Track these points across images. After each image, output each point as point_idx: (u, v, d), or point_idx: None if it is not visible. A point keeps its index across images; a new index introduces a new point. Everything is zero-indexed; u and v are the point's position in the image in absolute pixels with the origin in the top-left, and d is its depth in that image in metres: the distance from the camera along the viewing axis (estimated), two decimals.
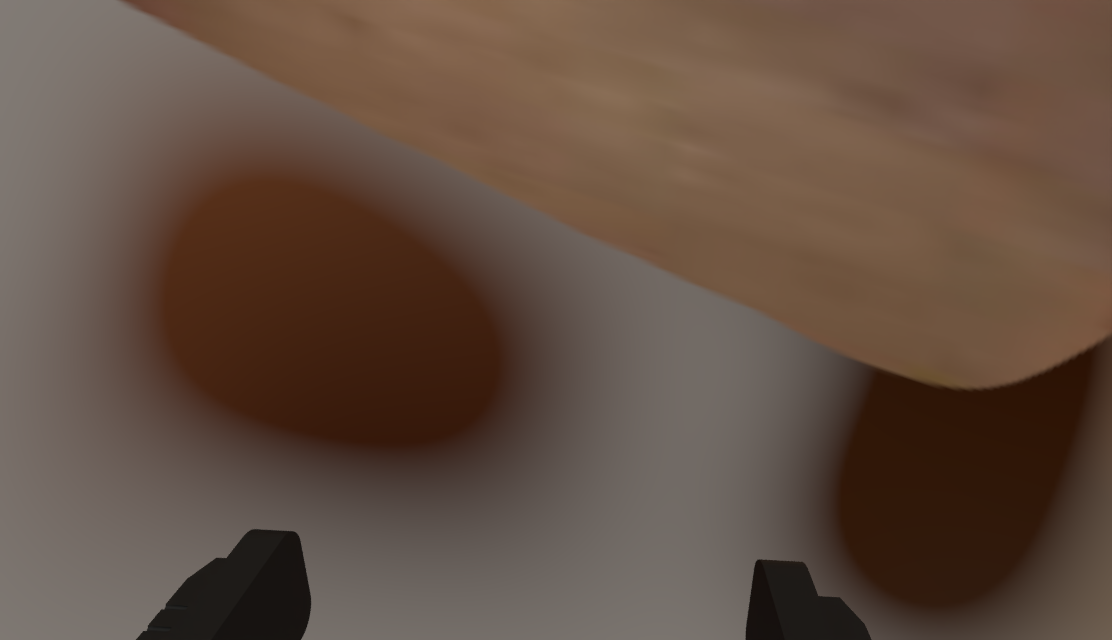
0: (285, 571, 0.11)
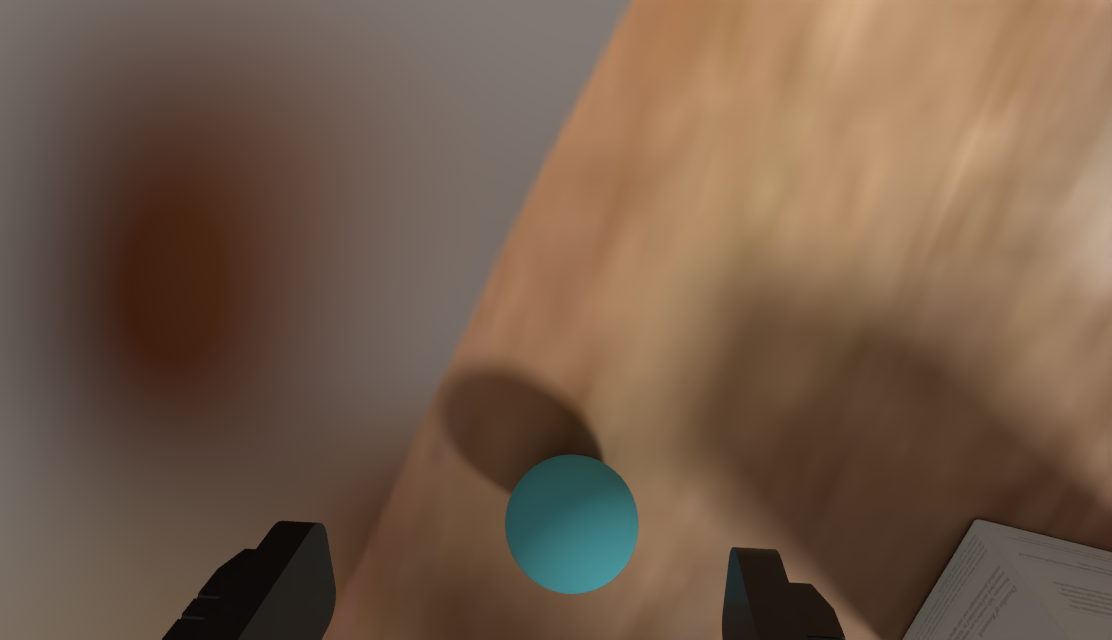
0: (313, 562, 0.11)
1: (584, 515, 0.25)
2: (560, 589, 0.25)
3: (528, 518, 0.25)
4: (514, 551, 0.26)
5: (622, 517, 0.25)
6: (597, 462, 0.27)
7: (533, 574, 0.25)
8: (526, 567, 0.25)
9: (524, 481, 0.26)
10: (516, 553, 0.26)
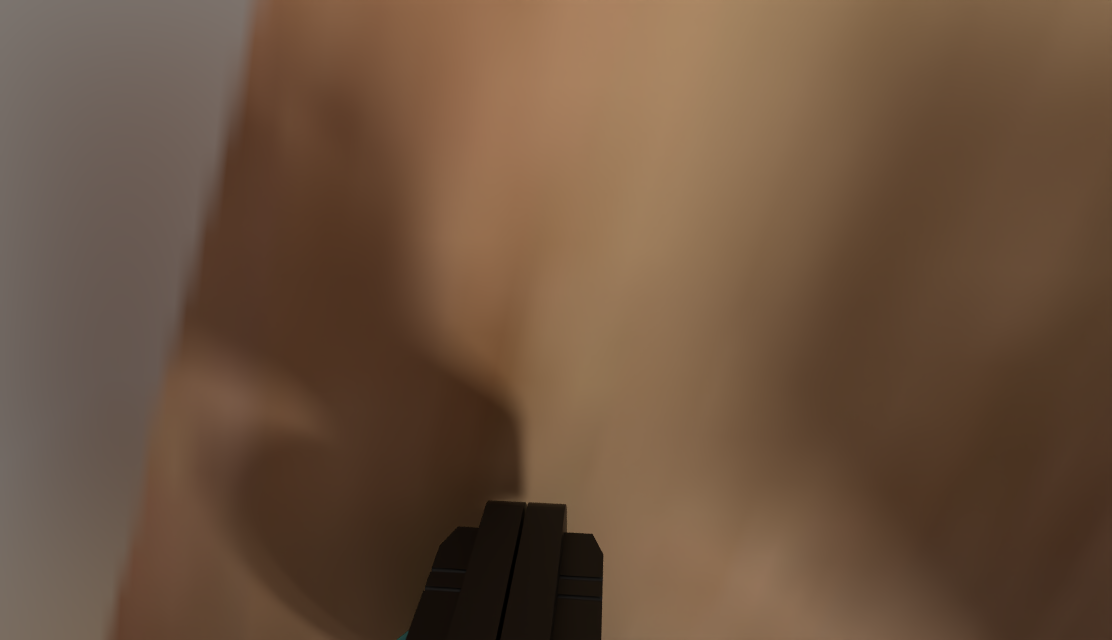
0: None
1: None
2: None
3: None
4: None
5: None
6: None
7: None
8: None
9: None
10: None
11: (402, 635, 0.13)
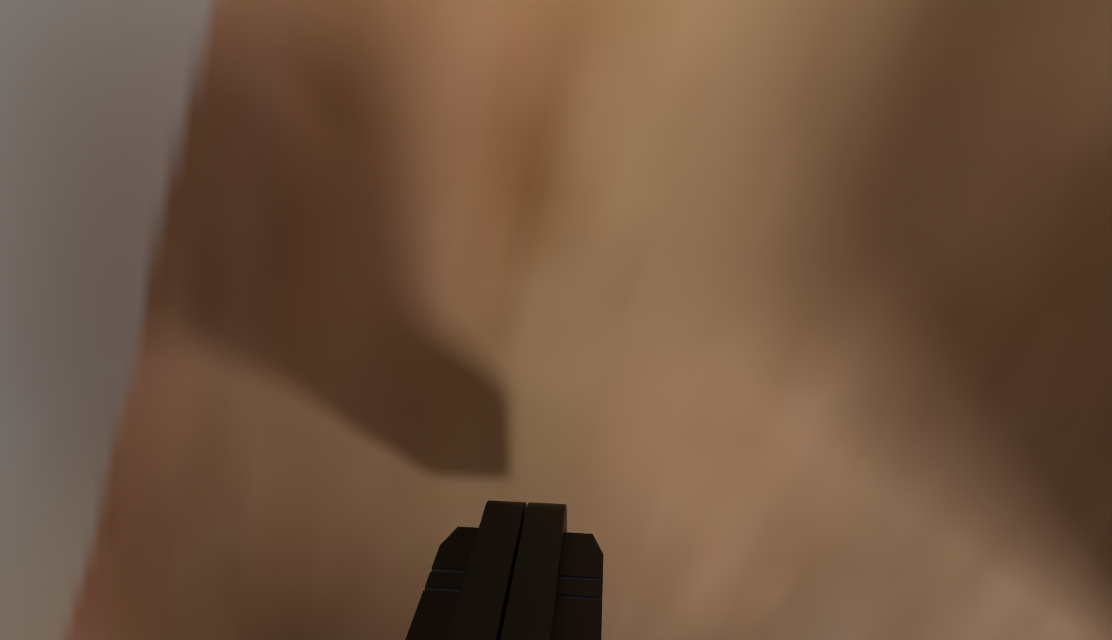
0: None
1: None
2: None
3: None
4: None
5: None
6: None
7: None
8: None
9: None
10: None
11: None
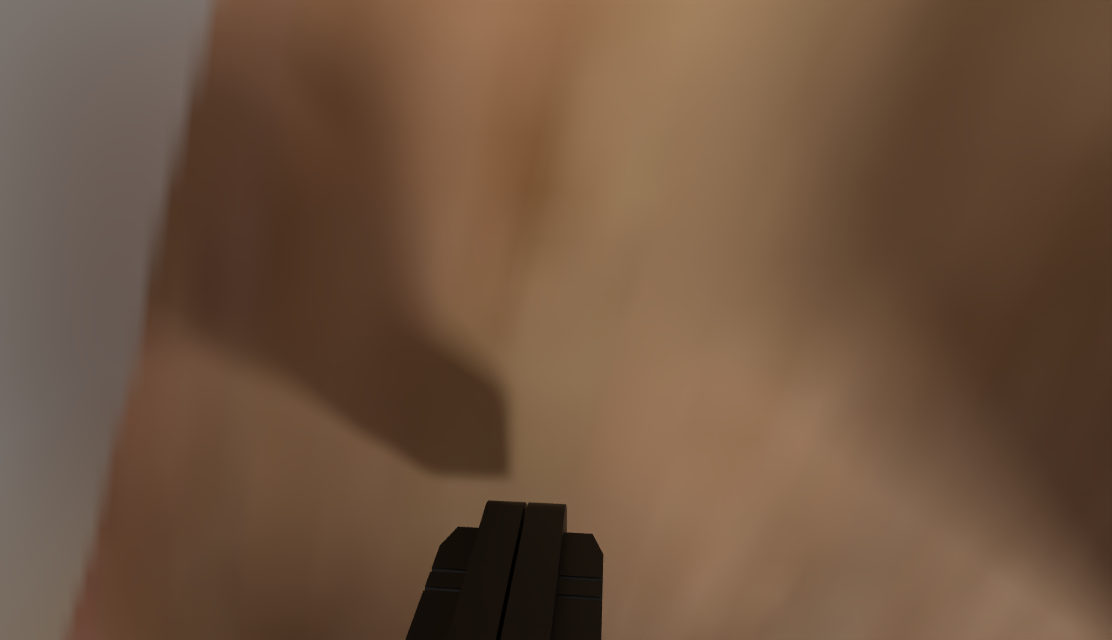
0: None
1: None
2: None
3: None
4: None
5: None
6: None
7: None
8: None
9: None
10: None
11: None
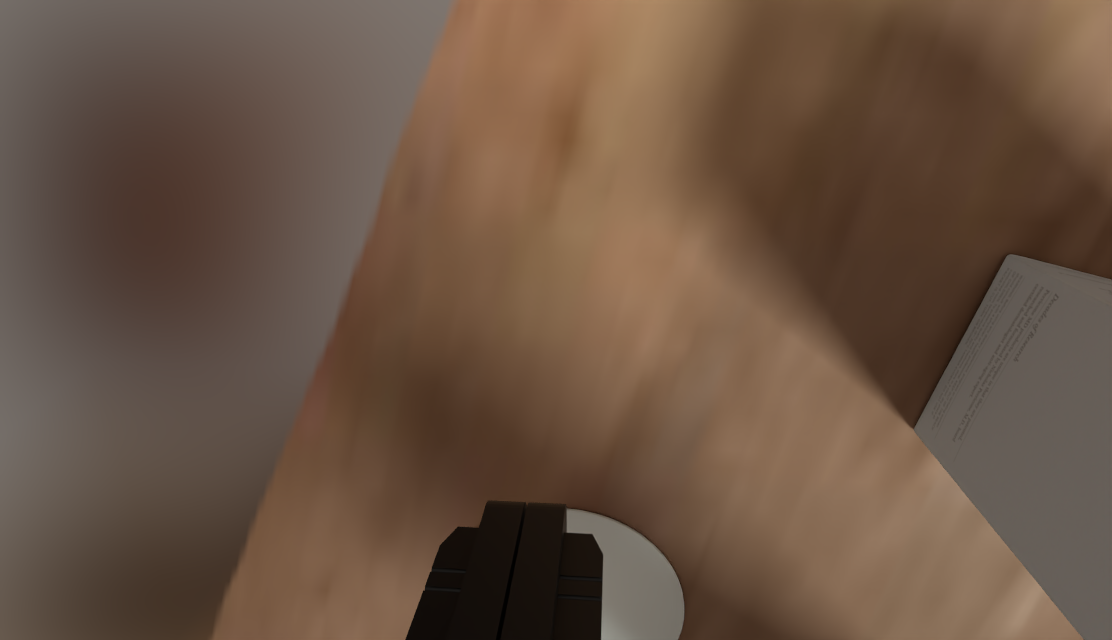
0: None
1: None
2: None
3: None
4: None
5: None
6: None
7: None
8: None
9: None
10: None
11: None
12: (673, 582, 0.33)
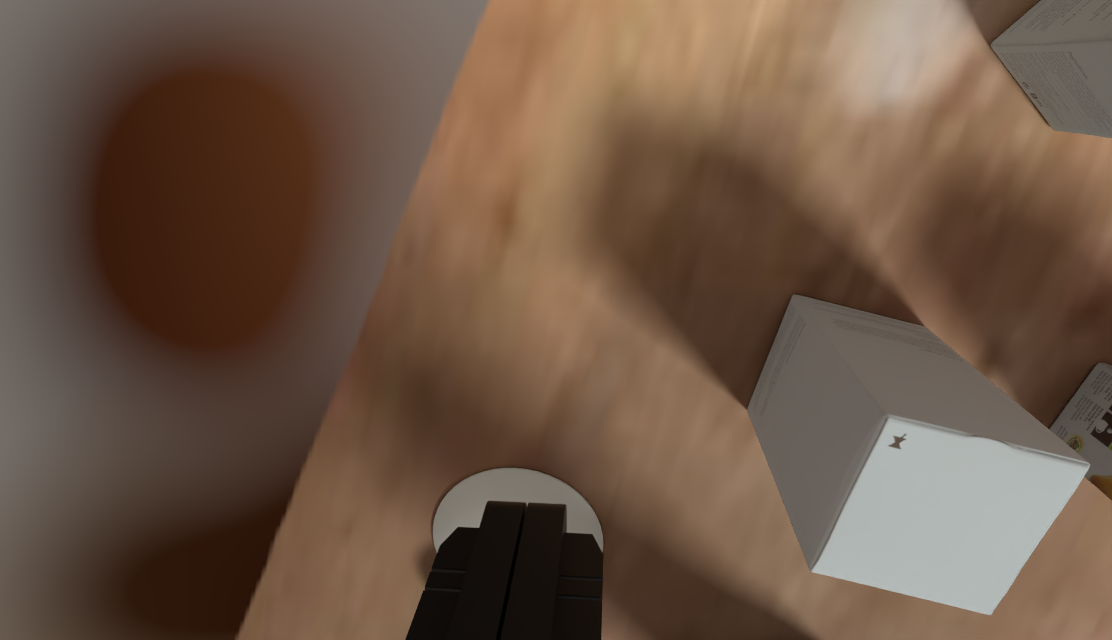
0: None
1: None
2: None
3: None
4: None
5: None
6: None
7: None
8: None
9: None
10: None
11: None
12: (594, 520, 0.47)
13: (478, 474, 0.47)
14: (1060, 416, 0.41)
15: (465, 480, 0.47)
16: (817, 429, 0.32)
